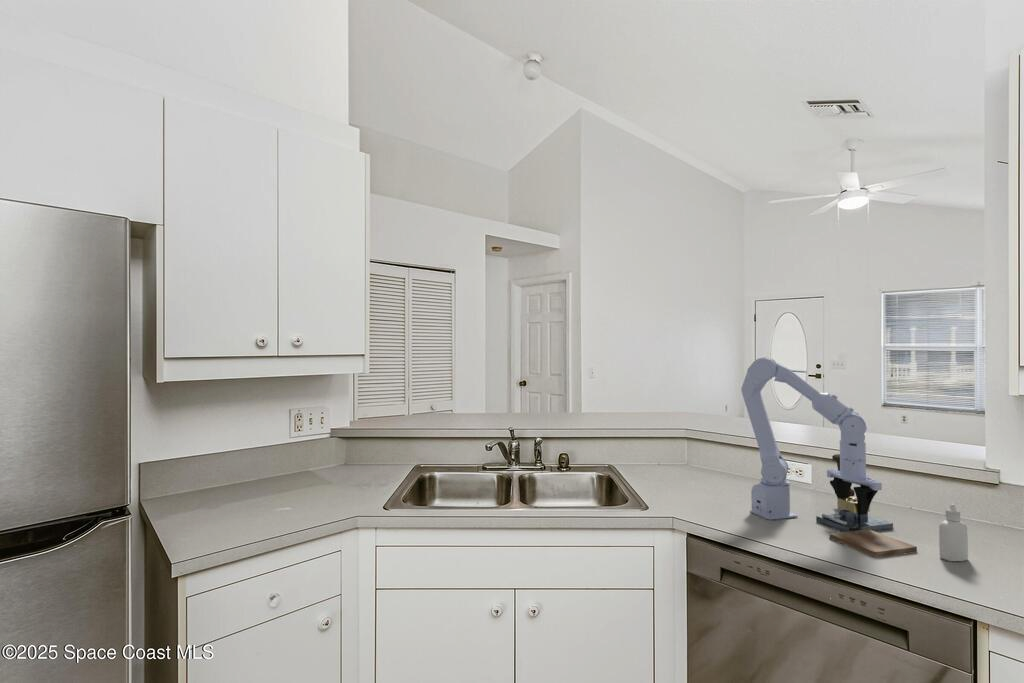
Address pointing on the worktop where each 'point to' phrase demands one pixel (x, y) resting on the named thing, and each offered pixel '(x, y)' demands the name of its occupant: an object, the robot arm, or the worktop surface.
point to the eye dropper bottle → (953, 536)
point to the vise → (853, 521)
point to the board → (873, 543)
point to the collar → (848, 504)
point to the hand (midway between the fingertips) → (853, 510)
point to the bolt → (837, 459)
